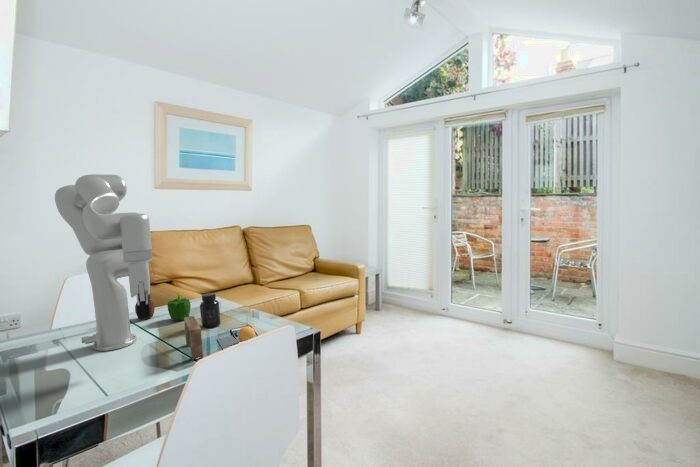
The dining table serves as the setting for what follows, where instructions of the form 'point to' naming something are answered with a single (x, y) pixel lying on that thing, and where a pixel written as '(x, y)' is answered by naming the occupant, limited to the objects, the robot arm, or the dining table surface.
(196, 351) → the bridge
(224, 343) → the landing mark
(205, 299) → the supplement bottle
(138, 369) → the dining table surface
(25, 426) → the dining table surface
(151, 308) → the wooden figurine
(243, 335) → the ball
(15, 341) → the dining table surface
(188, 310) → the bell pepper
